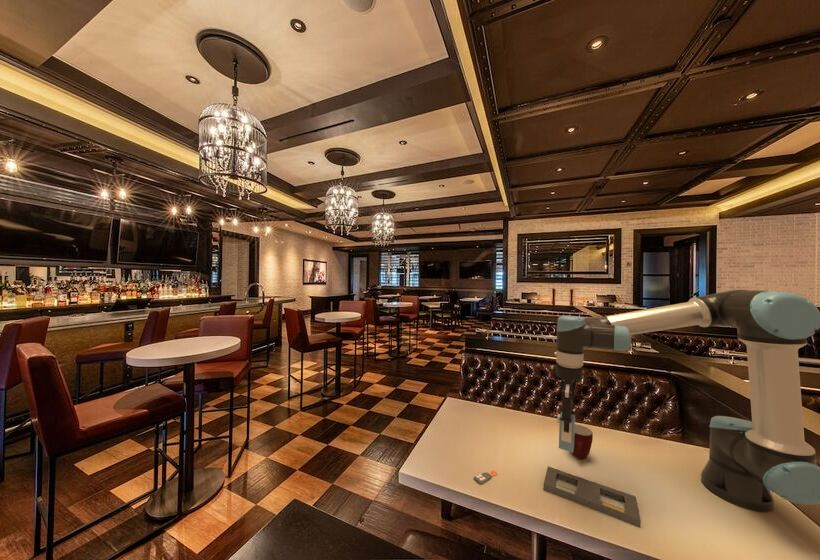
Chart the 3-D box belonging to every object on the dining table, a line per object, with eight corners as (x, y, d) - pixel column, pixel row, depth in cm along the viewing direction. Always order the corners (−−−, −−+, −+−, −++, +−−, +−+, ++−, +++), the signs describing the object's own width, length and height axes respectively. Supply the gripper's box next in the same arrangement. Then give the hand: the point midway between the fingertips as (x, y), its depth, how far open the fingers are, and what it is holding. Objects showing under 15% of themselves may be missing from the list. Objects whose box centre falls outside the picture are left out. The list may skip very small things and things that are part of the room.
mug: (595, 469, 100) (596, 441, 99) (569, 463, 103) (570, 435, 103) (589, 452, 109) (590, 427, 109) (566, 447, 112) (566, 422, 112)
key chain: (481, 487, 91) (481, 483, 91) (472, 480, 94) (472, 476, 94) (507, 473, 98) (507, 468, 98) (499, 467, 101) (499, 462, 101)
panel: (635, 503, 85) (636, 495, 85) (640, 527, 77) (640, 519, 76) (547, 471, 98) (547, 465, 98) (543, 489, 90) (543, 482, 90)
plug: (574, 446, 91) (575, 415, 91) (573, 452, 88) (574, 420, 88) (557, 441, 94) (558, 411, 93) (555, 447, 90) (556, 416, 90)
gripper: (558, 356, 99) (556, 422, 100) (552, 369, 85) (550, 446, 85) (583, 360, 95) (581, 429, 95) (581, 374, 81) (579, 455, 81)
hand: (566, 437), depth 90 cm, fingers closed on plug, 4 cm apart
